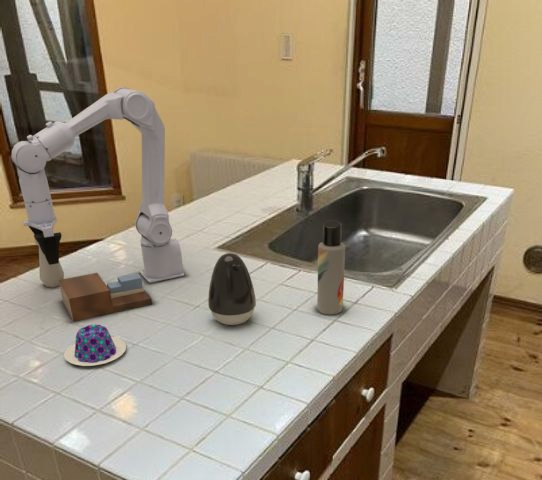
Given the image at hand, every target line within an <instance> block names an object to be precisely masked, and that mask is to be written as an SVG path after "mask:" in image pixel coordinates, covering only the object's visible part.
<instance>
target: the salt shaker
mask: <svg viewBox="0 0 542 480" xmlns="http://www.w3.org/2000/svg"><path fill="white" fill-rule="evenodd" d="M34 243H35V245H36V246H38V258H39V259H38V260H39V263H38V265H39V279H40V281H41V282H42V283H43V284H44V285H45V287H46V288H56V287H60V285H59V280H62V279H65V278H64V277H65V272H64V270H63V267H62V265H61V262H60V261H59V263H57V264H52V265H49V263H48V262H47V260H46V257H45V255H44V254H43V252H42V250H41V248H40V246H39V243H38V242H37V241H36V239H35V238H34Z"/></svg>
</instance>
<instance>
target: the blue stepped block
mask: <svg viewBox="0 0 542 480" xmlns="http://www.w3.org/2000/svg"><path fill="white" fill-rule="evenodd" d="M116 278H117V281H113V282H108V283H106V285H107V287H108V288H109V290H110V293H111V298H116V297H121V296H126V295H130V294H135V293H140V292H144V290H145V288H144V286H143V282H142V281H143V279H142V277H141V276H140V275H139V273H138V272H134V273H130V274H125V275H120V276H117V277H116Z"/></svg>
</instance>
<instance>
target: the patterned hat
mask: <svg viewBox="0 0 542 480" xmlns="http://www.w3.org/2000/svg"><path fill="white" fill-rule="evenodd" d="M126 350H127V344H126V342H125V341H124V340H123V339H121V338H118V337H116V336H111V334H110V332H109V330H108V328H107V327H106V326H104V325H101V324H87V325H86V326H83V327H81V328H79V329H78V331H77V332H76V334H75V342H74V343H72V344H71V345H69V346H68V347H67V348H66V350H65V351H64V353H63V356H64V360H66V361H67V362H68V363H70V364H72V365H76V366H82V367H91V366H99V365H103V364H108V363H111V362H112V361H115V360H117V359H118V358H120V357H121V356H122V355H123V354H124V353H126Z"/></svg>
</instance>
